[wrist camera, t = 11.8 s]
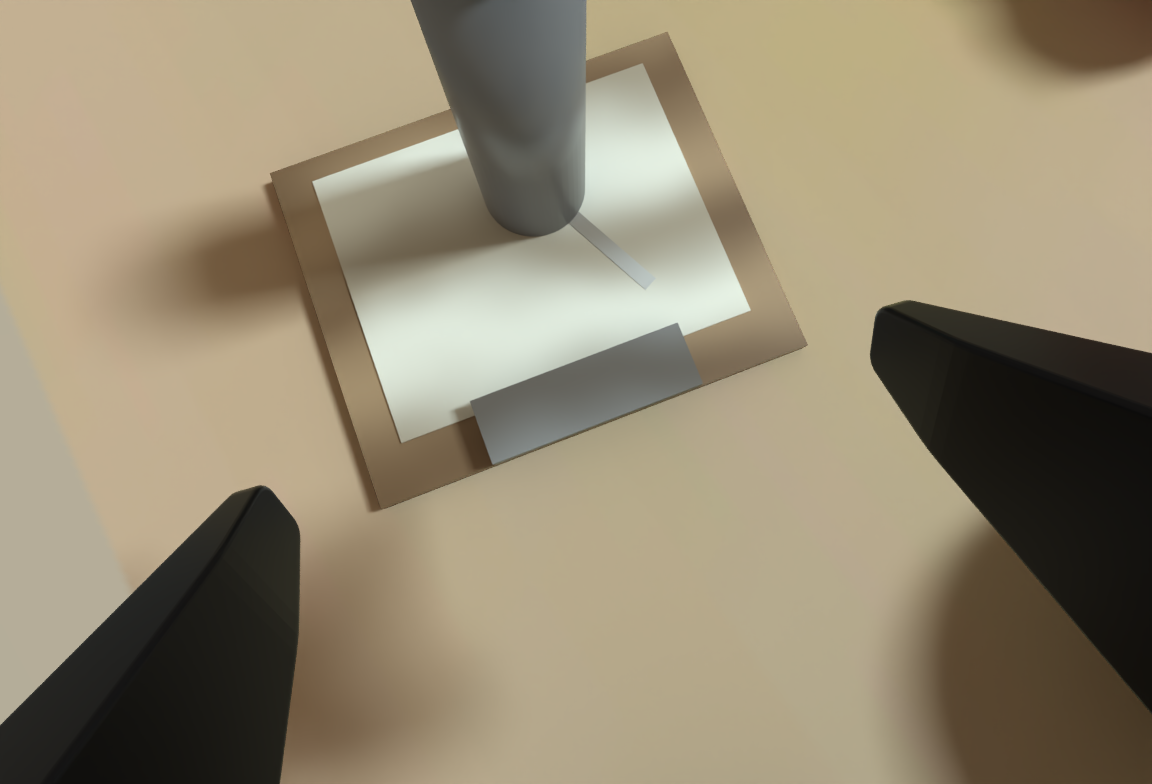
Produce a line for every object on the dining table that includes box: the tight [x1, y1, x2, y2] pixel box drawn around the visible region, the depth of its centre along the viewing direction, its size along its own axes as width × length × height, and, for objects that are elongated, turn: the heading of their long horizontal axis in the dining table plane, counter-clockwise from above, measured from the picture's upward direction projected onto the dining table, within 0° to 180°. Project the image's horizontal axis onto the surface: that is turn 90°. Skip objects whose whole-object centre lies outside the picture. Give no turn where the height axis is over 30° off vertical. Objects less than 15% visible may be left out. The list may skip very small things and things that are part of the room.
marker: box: [411, 0, 586, 237], centre depth 16 cm, size 4×4×13 cm
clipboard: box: [270, 32, 807, 509], centre depth 22 cm, size 14×17×2 cm
